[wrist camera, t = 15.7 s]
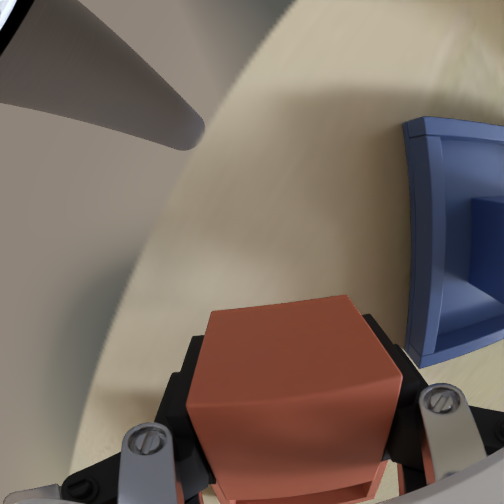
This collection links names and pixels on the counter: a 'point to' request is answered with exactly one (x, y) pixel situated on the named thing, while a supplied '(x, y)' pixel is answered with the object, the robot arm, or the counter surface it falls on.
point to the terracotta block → (292, 398)
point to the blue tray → (449, 236)
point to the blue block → (488, 246)
